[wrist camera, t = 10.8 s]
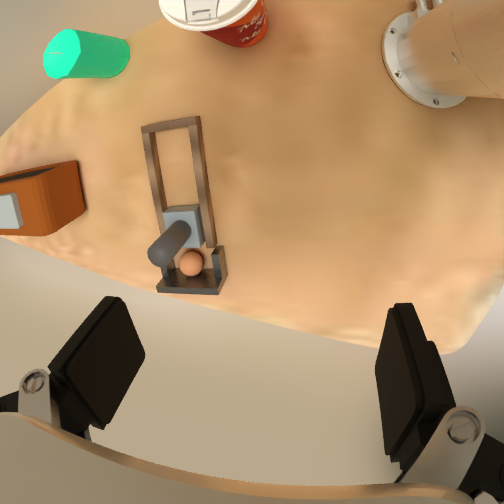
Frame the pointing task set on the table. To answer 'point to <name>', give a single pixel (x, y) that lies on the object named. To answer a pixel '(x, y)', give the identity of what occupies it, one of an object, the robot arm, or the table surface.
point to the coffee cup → (220, 19)
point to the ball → (190, 263)
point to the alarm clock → (40, 199)
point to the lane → (199, 169)
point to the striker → (177, 234)
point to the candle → (85, 55)
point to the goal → (195, 277)
